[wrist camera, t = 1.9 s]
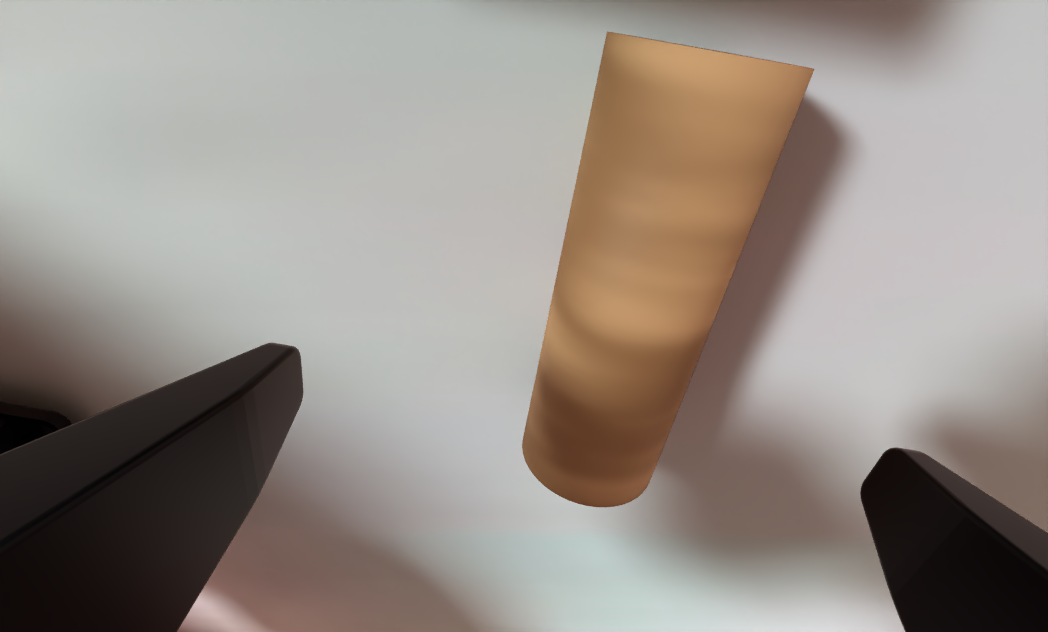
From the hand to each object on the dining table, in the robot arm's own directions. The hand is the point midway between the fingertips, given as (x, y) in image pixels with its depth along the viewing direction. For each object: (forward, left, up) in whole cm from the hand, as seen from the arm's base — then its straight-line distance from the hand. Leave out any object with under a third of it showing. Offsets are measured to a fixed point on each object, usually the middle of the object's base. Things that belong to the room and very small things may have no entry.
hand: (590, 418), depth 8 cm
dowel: (0, 0, -6) cm, 6 cm away
